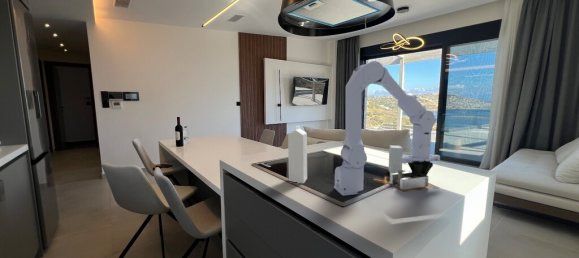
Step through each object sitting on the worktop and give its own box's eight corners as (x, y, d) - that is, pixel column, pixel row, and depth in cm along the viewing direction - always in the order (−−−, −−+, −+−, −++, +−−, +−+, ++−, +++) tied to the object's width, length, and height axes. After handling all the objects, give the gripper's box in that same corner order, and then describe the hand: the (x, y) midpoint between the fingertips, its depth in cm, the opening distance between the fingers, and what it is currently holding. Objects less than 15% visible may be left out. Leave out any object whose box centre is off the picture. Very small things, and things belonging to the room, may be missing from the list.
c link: (414, 179, 92) (414, 170, 92) (428, 186, 85) (428, 176, 85) (390, 183, 90) (390, 173, 90) (402, 190, 83) (402, 179, 83)
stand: (402, 194, 83) (403, 174, 82) (387, 185, 91) (387, 167, 90) (440, 190, 85) (441, 171, 85) (421, 182, 94) (422, 164, 93)
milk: (288, 182, 96) (287, 126, 94) (293, 177, 102) (292, 124, 99) (303, 183, 95) (302, 126, 92) (307, 178, 100) (306, 124, 97)
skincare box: (402, 177, 100) (403, 148, 99) (390, 176, 101) (391, 148, 100) (398, 172, 106) (399, 145, 105) (388, 172, 107) (389, 145, 105)
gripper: (410, 147, 82) (408, 187, 83) (448, 145, 84) (445, 183, 86) (397, 143, 88) (395, 180, 90) (432, 141, 91) (430, 177, 93)
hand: (419, 181), depth 89 cm, fingers closed on c link
